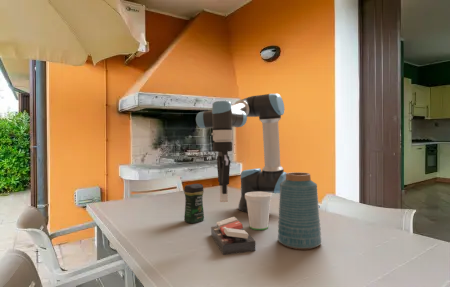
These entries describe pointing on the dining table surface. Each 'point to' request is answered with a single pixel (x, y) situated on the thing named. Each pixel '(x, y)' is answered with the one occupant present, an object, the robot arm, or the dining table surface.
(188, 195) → the coffee jar
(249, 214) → the cup
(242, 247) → the rocker switch panel
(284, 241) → the vase
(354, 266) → the dining table surface
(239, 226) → the rocker
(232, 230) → the rocker
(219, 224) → the rocker
